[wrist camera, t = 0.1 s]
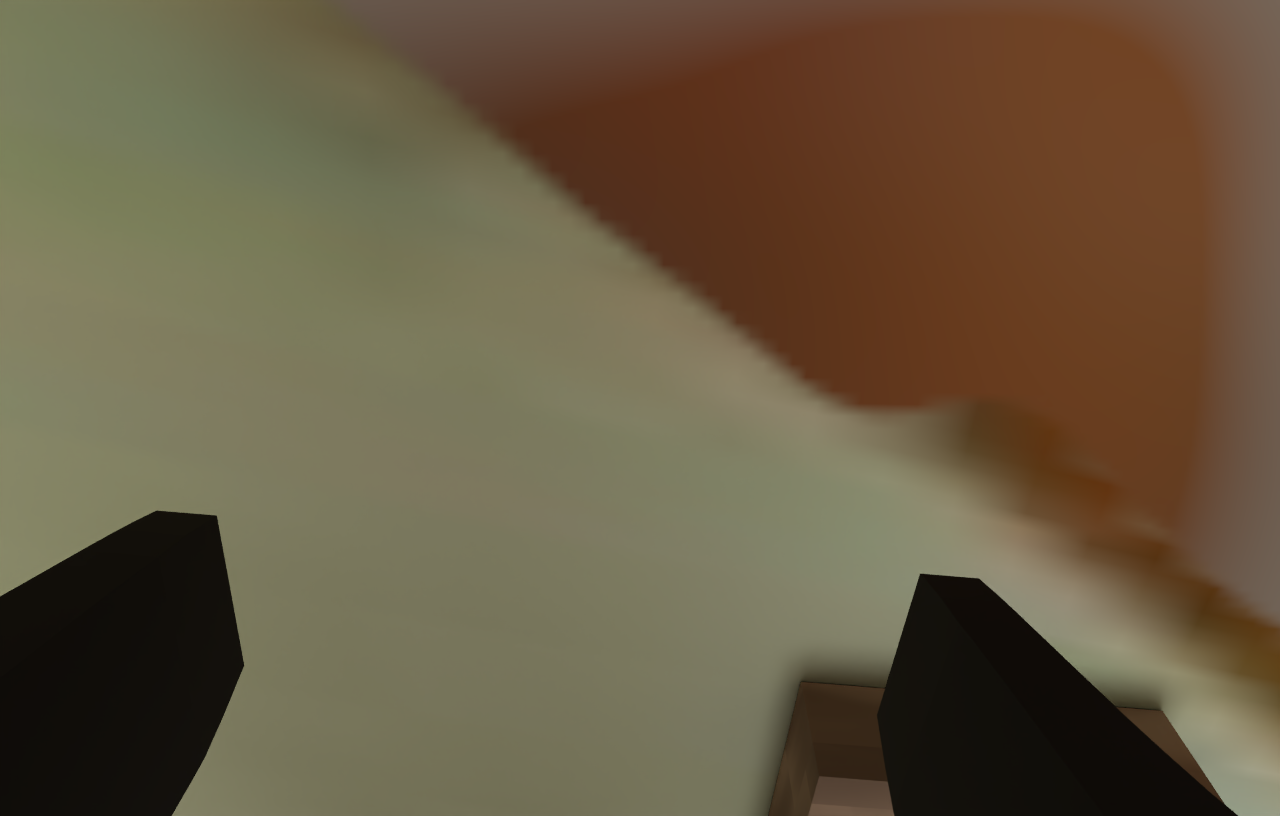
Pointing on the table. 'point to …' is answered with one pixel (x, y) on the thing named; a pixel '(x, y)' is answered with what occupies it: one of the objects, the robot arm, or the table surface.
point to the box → (880, 753)
